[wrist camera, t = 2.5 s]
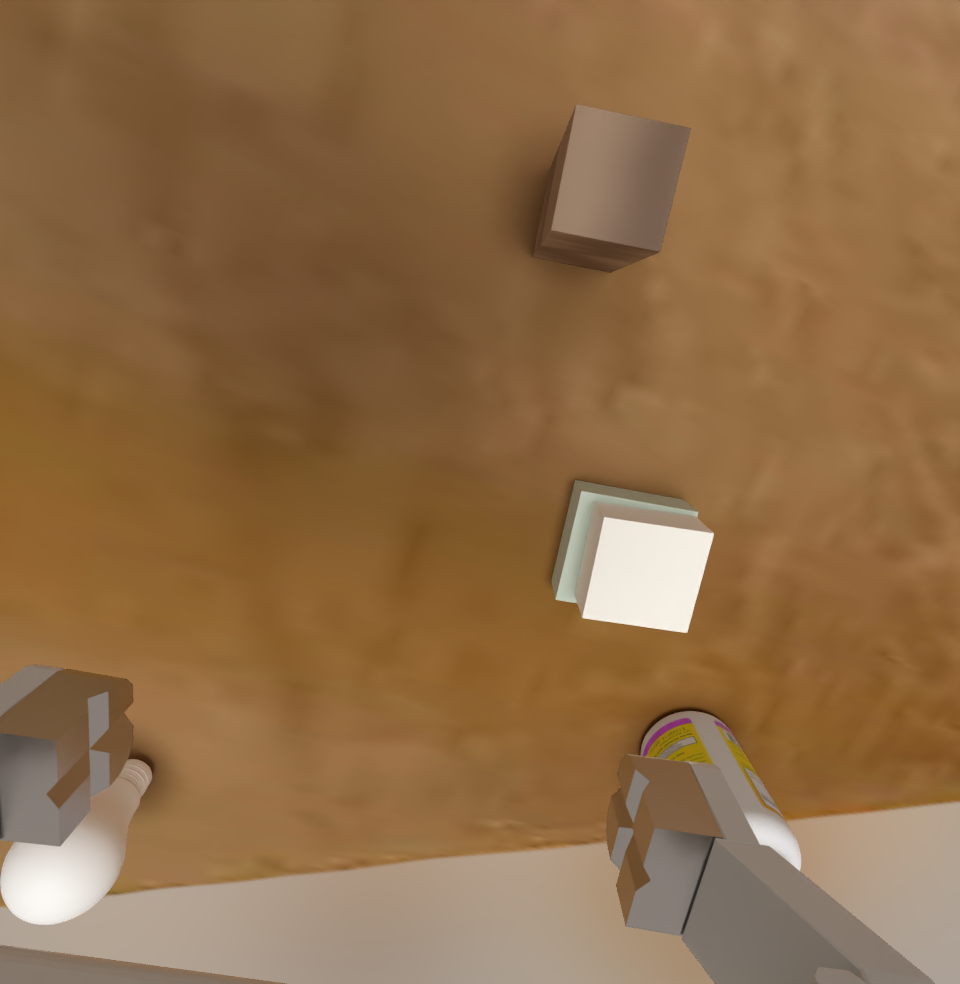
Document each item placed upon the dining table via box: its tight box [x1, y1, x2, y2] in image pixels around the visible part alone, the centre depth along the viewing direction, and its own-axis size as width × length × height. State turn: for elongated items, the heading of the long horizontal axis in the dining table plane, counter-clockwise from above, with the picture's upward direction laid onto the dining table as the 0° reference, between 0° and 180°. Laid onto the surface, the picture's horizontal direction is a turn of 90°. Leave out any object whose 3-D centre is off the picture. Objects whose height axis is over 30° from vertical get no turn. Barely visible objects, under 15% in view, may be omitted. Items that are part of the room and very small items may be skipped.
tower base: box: [551, 480, 698, 603], centre depth 37 cm, size 7×7×3 cm
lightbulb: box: [0, 759, 152, 925], centre depth 38 cm, size 6×6×11 cm
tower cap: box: [575, 501, 714, 633], centre depth 34 cm, size 6×6×3 cm
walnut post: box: [533, 104, 691, 273], centre depth 28 cm, size 4×4×10 cm
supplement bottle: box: [641, 711, 801, 871], centre depth 36 cm, size 7×7×13 cm
